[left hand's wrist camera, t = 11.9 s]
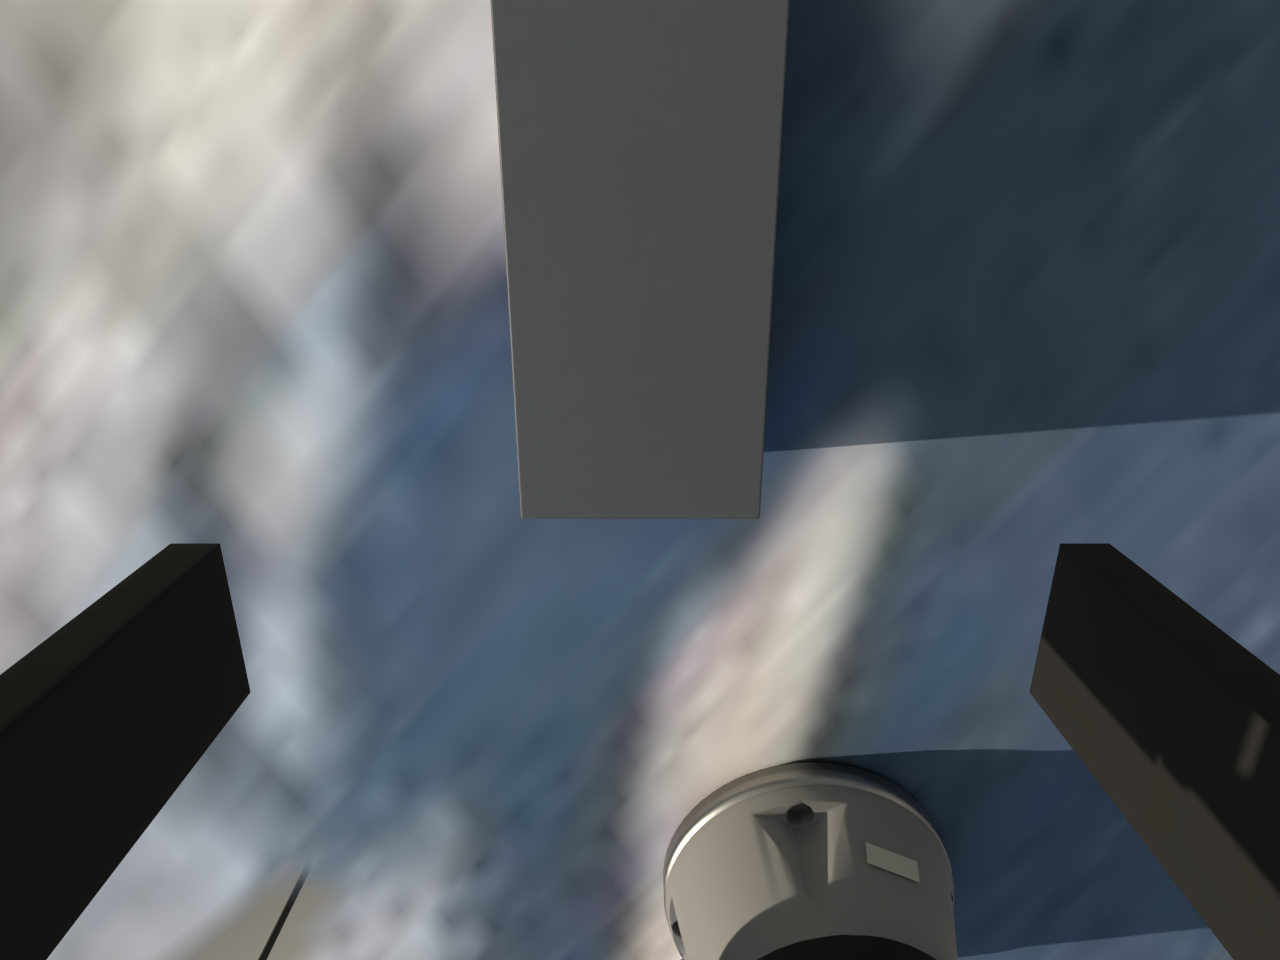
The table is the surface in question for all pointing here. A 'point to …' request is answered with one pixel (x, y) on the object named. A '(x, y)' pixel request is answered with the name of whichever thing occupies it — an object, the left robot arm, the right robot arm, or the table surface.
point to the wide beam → (640, 249)
